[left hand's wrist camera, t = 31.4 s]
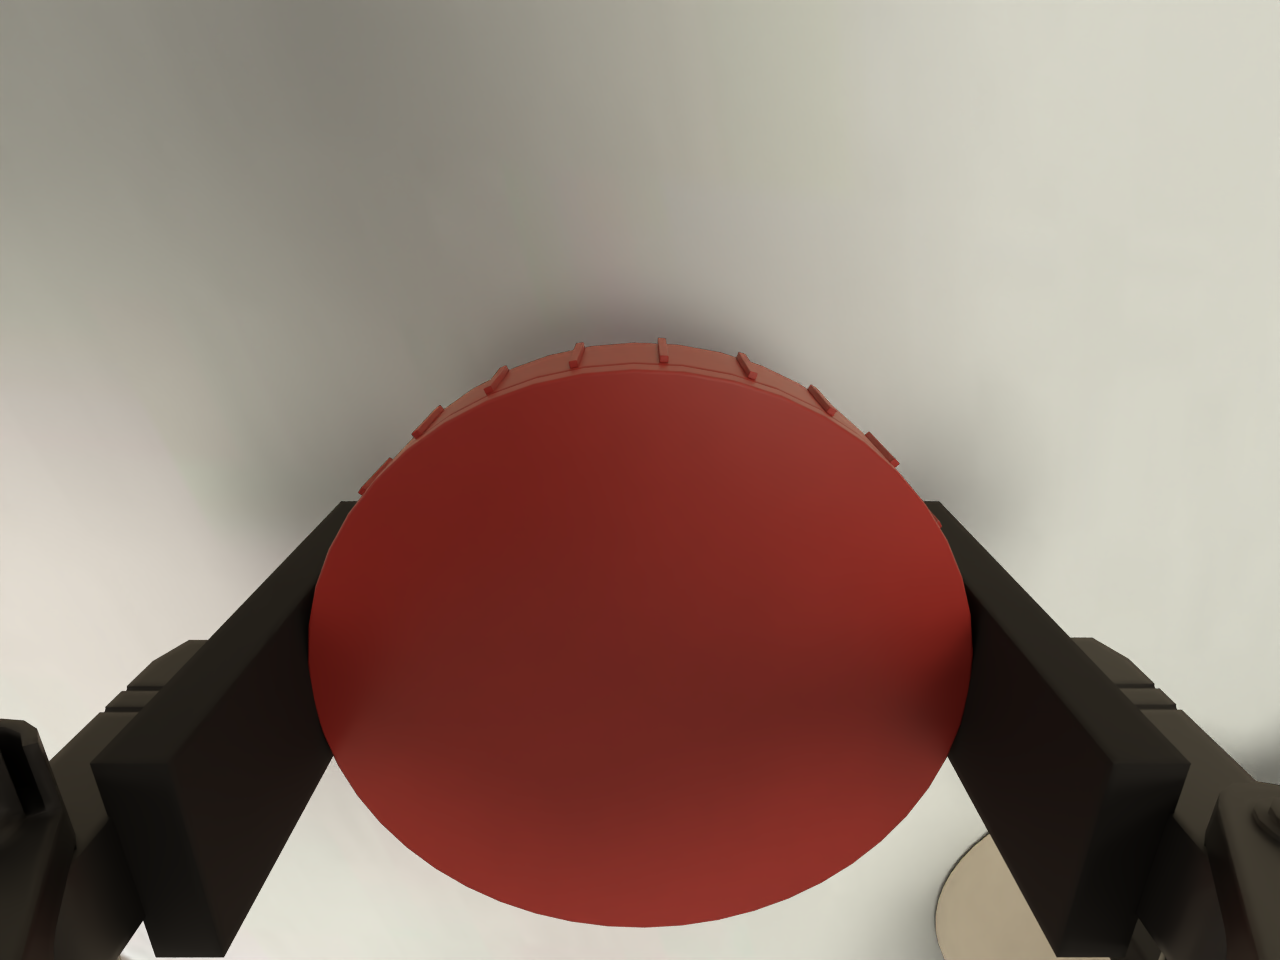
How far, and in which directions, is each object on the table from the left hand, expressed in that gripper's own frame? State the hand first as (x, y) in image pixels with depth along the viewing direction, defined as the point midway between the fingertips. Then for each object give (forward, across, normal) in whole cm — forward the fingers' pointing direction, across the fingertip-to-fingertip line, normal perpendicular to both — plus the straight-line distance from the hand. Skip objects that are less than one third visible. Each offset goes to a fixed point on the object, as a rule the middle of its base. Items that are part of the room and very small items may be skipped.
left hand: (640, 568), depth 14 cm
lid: (-3, 0, 0) cm, 3 cm away
